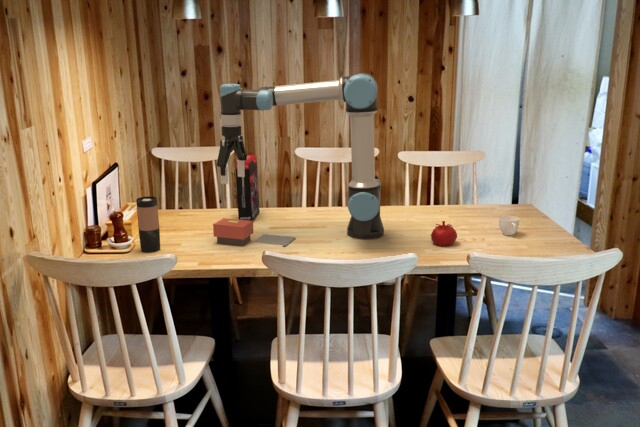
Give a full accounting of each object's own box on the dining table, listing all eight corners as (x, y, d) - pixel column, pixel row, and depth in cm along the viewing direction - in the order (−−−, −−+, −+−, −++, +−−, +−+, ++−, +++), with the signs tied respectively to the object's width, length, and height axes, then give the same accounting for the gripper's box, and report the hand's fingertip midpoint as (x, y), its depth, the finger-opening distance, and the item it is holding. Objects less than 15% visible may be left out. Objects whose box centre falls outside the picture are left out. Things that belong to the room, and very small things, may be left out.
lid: (253, 233, 246) (252, 219, 245) (243, 239, 238) (243, 226, 237) (224, 230, 250) (223, 217, 249) (213, 236, 242) (212, 223, 241)
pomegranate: (461, 245, 242) (463, 222, 239) (441, 249, 237) (443, 226, 234) (444, 238, 250) (446, 215, 247) (424, 241, 245) (426, 219, 243)
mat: (295, 238, 250) (295, 237, 250) (285, 246, 240) (285, 245, 240) (263, 235, 255) (263, 234, 255) (252, 243, 245) (252, 242, 244)
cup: (513, 231, 259) (514, 215, 257) (523, 238, 249) (525, 222, 247) (495, 231, 258) (496, 216, 256) (505, 239, 248) (506, 222, 246)
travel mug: (162, 246, 242) (159, 196, 237) (158, 252, 235) (154, 201, 229) (143, 246, 242) (138, 196, 236) (138, 253, 234) (133, 201, 229)
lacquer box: (250, 242, 246) (249, 222, 244) (243, 247, 240) (242, 227, 238) (225, 239, 250) (224, 220, 248) (217, 244, 243) (216, 225, 241)
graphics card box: (252, 223, 272) (250, 161, 265) (237, 223, 273) (234, 161, 265) (259, 212, 288) (258, 154, 281) (245, 212, 289) (242, 154, 282)
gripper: (237, 121, 250) (239, 173, 255) (205, 129, 227) (208, 186, 233) (254, 122, 247) (255, 174, 253) (224, 130, 225) (226, 187, 230)
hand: (233, 180), depth 243 cm, fingers open, 13 cm apart
